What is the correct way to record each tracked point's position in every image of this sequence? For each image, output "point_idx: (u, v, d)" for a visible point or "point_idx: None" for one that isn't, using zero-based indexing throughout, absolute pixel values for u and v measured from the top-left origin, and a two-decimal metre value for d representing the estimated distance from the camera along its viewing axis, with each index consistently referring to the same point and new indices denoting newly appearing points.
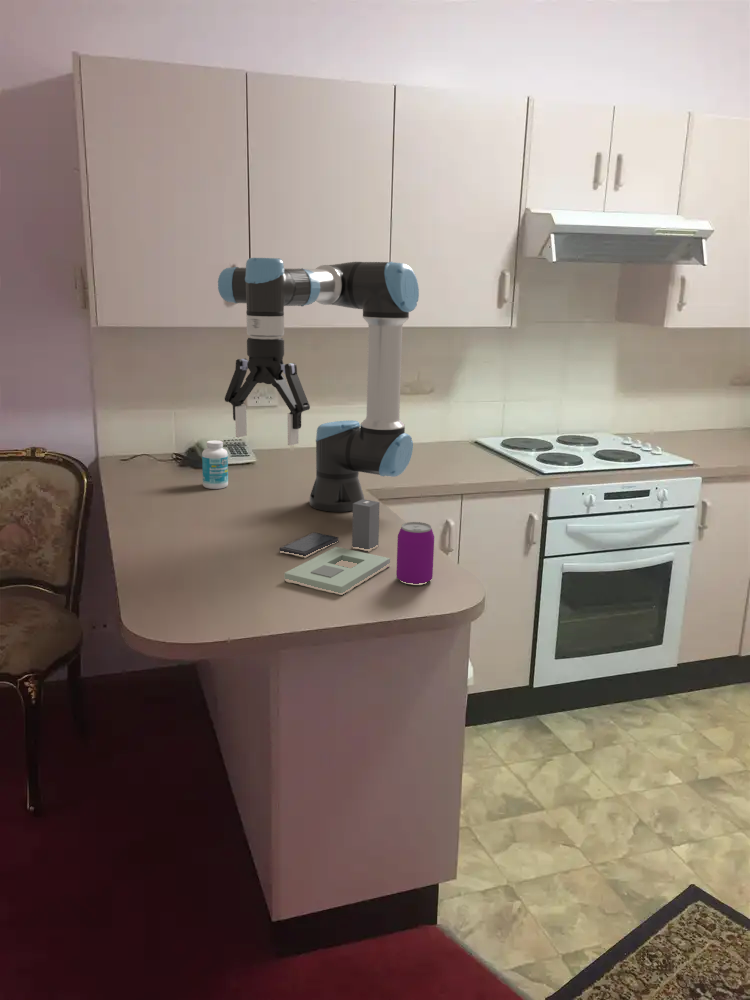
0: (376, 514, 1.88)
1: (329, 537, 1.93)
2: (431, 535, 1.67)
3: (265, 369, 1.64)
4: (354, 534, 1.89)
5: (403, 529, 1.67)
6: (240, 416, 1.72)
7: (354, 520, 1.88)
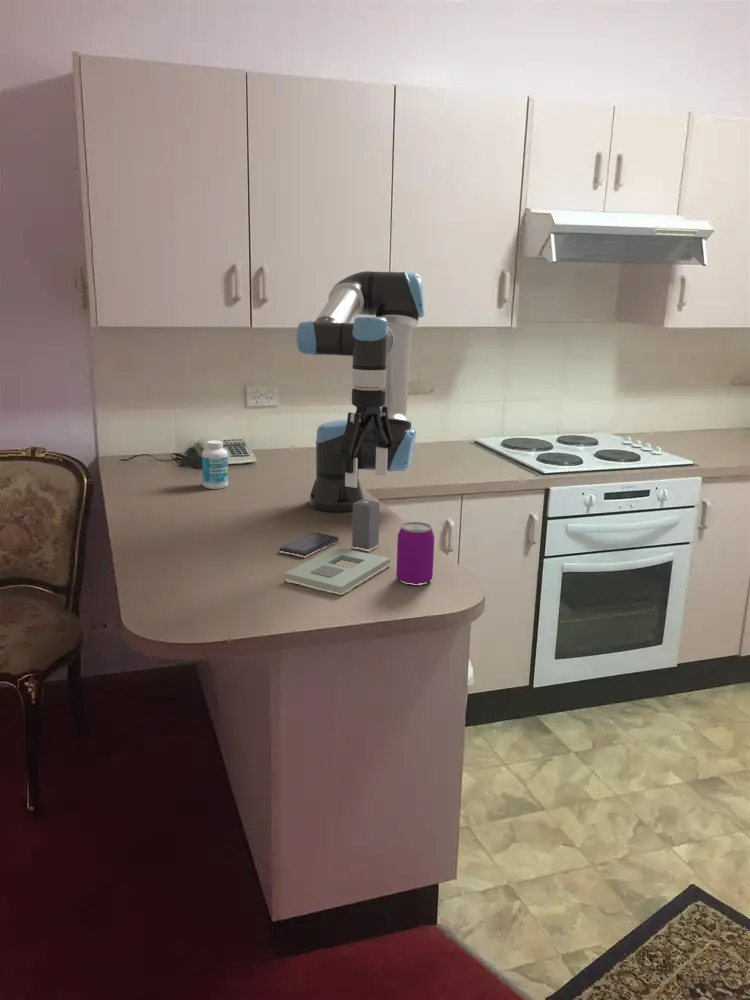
0: (376, 514, 1.88)
1: (329, 537, 1.93)
2: (431, 535, 1.67)
3: None
4: (354, 534, 1.89)
5: (403, 529, 1.67)
6: (379, 456, 1.91)
7: (354, 520, 1.88)
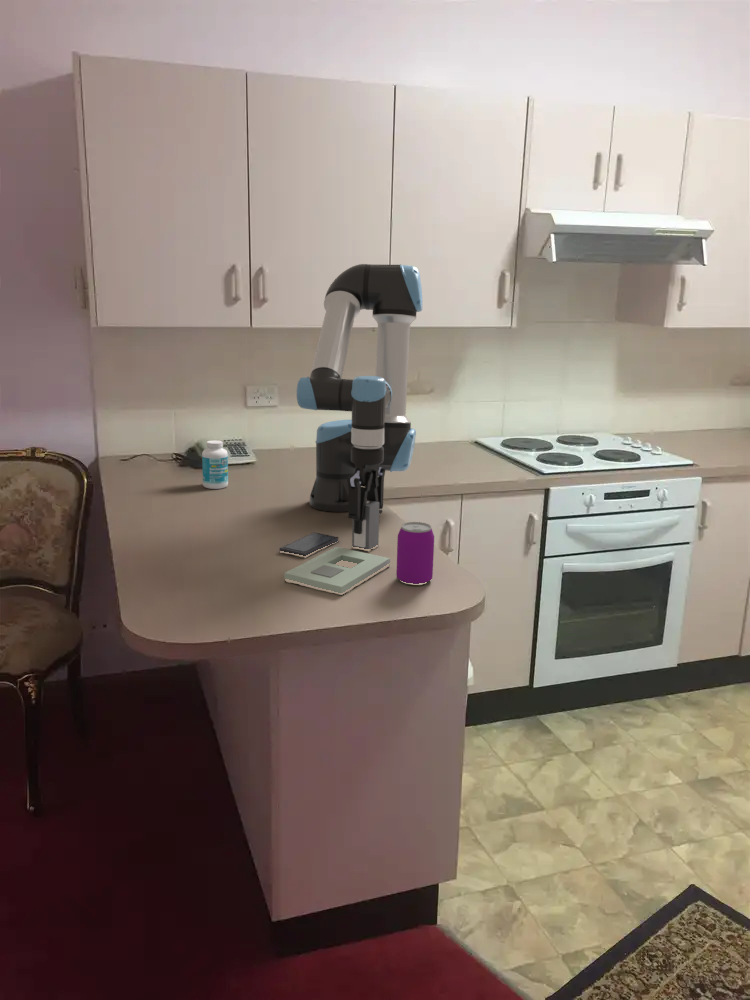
0: (375, 514, 1.88)
1: (329, 537, 1.93)
2: (431, 535, 1.67)
3: None
4: None
5: (403, 529, 1.67)
6: None
7: None
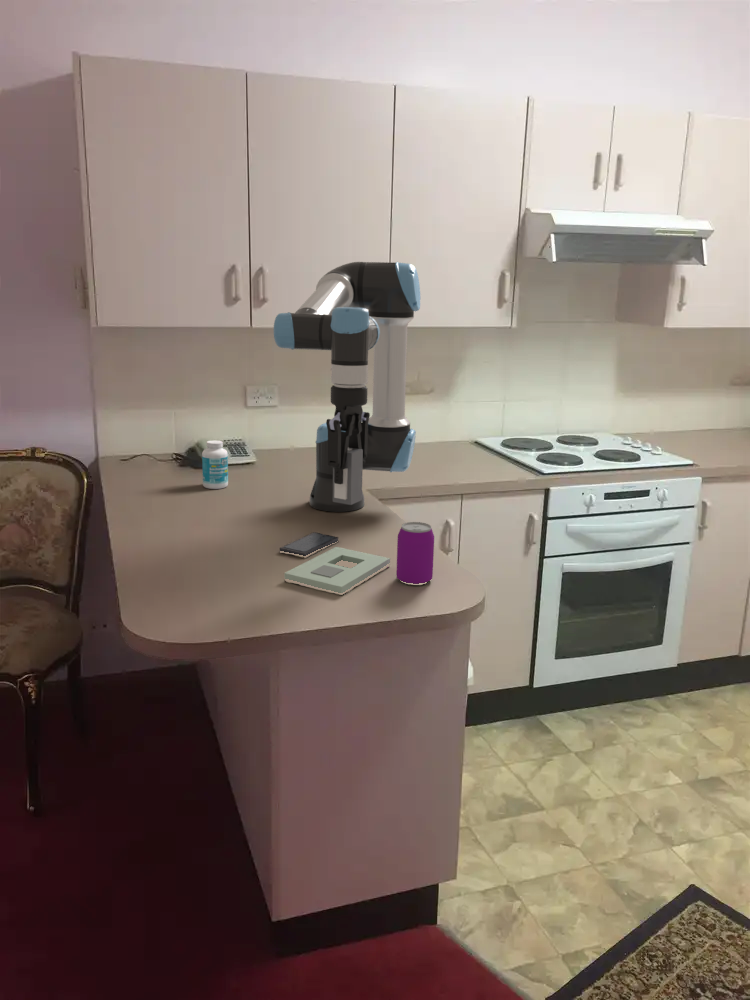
0: (358, 462, 1.69)
1: (329, 537, 1.93)
2: (431, 535, 1.67)
3: None
4: None
5: (403, 529, 1.67)
6: None
7: None
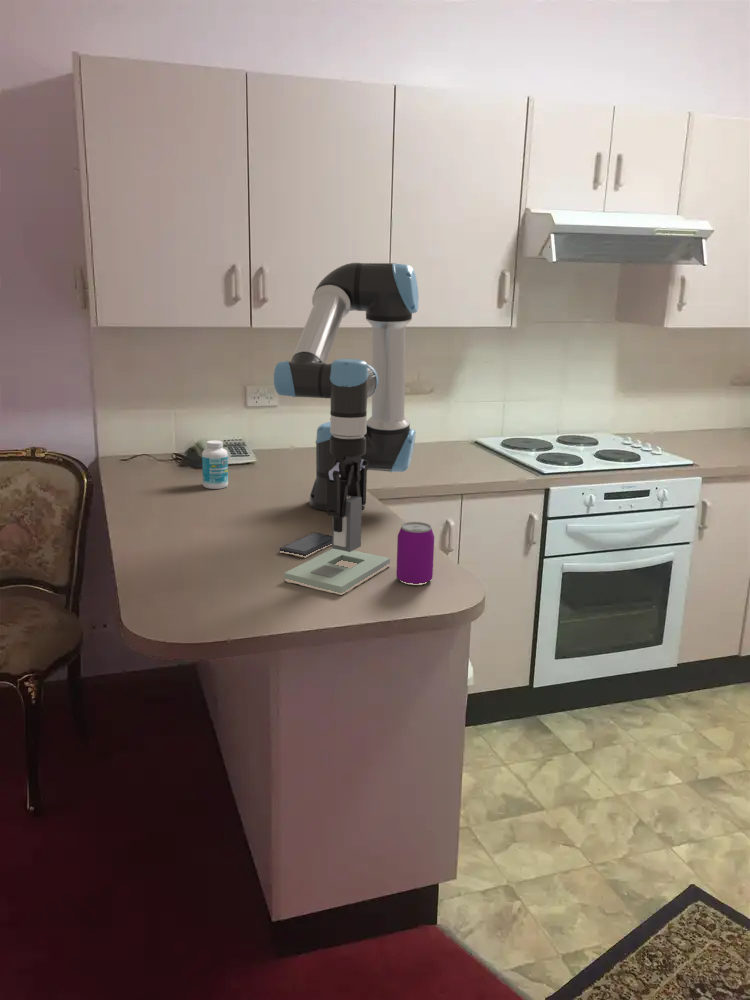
0: (357, 510, 1.72)
1: (329, 537, 1.93)
2: (431, 535, 1.67)
3: None
4: None
5: (403, 529, 1.67)
6: None
7: None
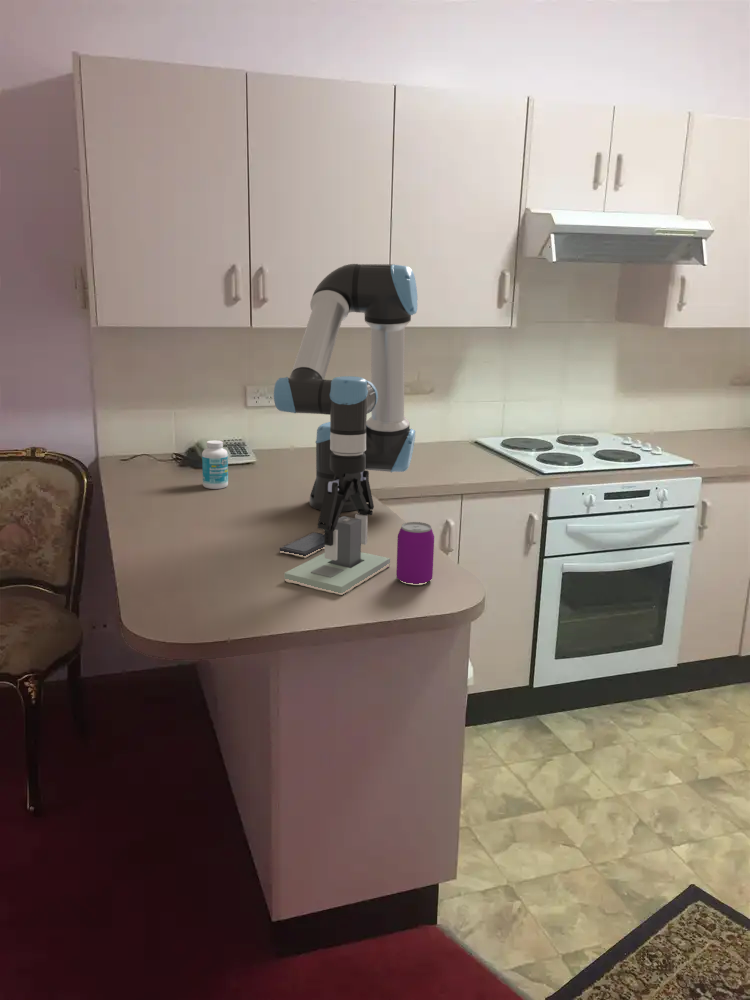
0: (357, 532, 1.74)
1: None
2: (431, 535, 1.67)
3: None
4: None
5: (403, 529, 1.67)
6: None
7: None
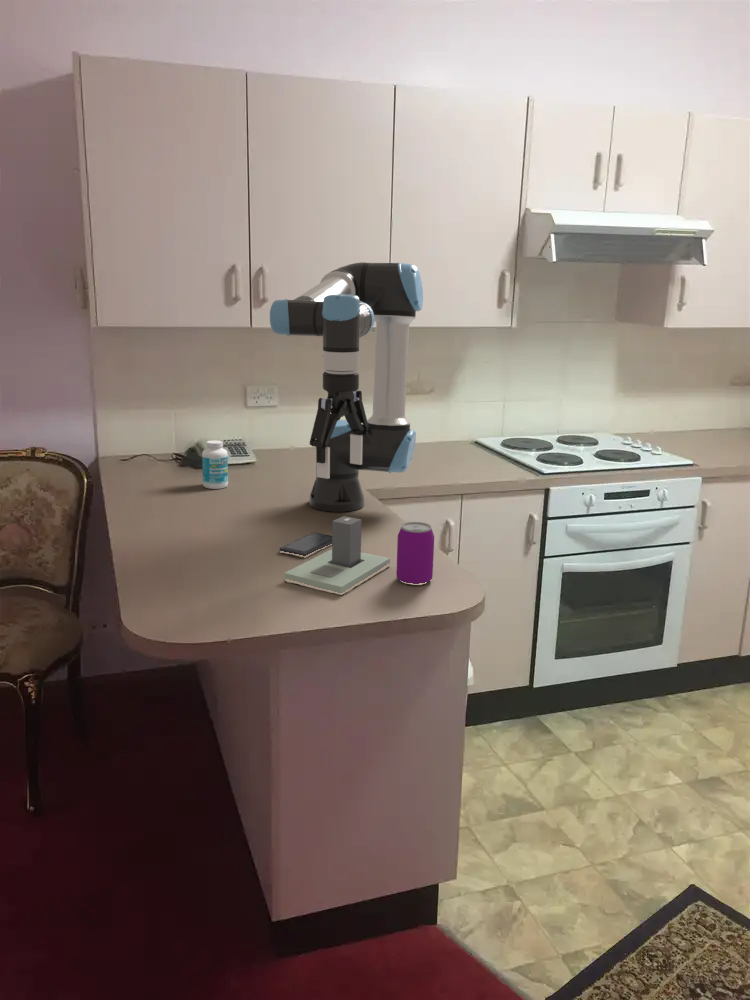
0: (357, 532, 1.74)
1: (329, 537, 1.93)
2: (431, 535, 1.67)
3: None
4: (334, 553, 1.74)
5: (403, 529, 1.67)
6: (353, 444, 1.79)
7: (333, 539, 1.73)
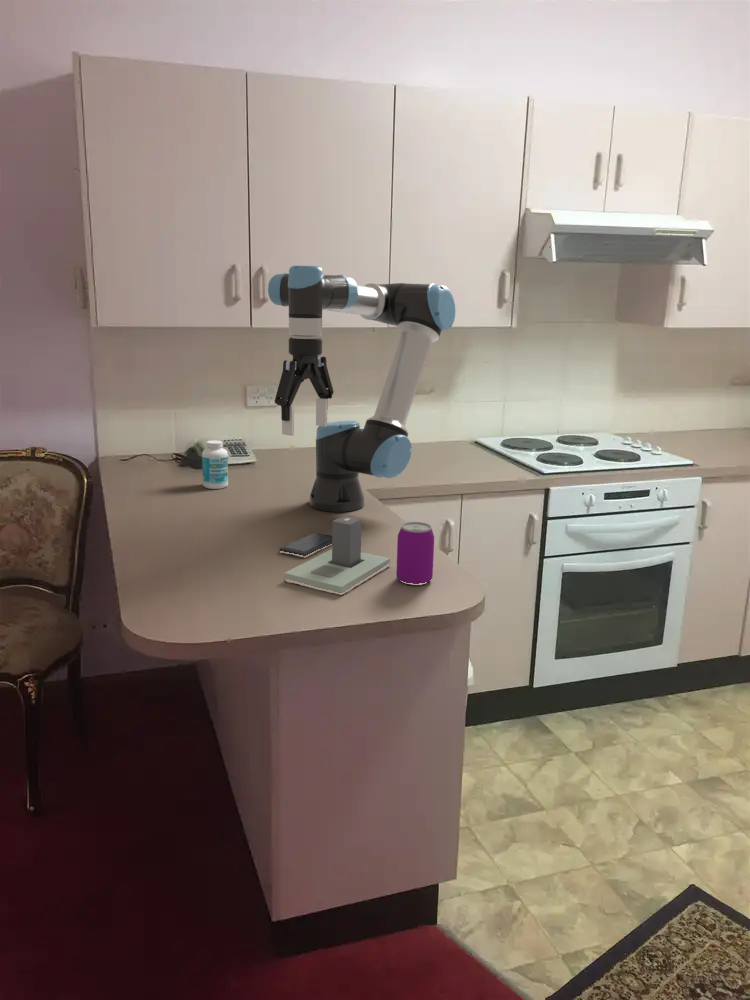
0: (357, 532, 1.74)
1: (329, 537, 1.93)
2: (431, 535, 1.67)
3: None
4: (334, 553, 1.74)
5: (403, 529, 1.67)
6: (319, 407, 1.93)
7: (333, 539, 1.73)
